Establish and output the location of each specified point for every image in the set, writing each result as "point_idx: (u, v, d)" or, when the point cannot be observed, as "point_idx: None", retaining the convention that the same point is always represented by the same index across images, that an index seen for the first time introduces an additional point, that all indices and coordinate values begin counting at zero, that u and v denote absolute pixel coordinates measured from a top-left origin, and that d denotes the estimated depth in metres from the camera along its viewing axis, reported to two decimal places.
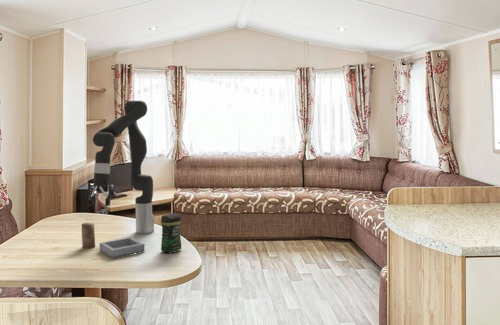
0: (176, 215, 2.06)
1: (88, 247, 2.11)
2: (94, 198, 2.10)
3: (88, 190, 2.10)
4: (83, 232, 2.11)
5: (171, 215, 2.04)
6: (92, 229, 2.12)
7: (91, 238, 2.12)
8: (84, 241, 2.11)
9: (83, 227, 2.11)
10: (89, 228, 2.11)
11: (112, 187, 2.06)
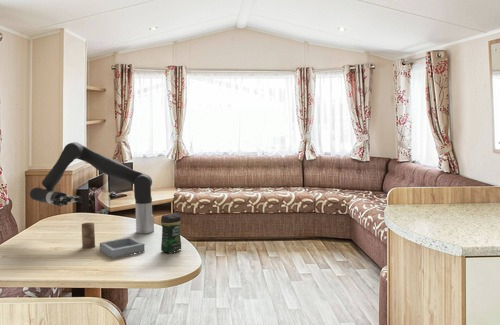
0: (176, 215, 2.06)
1: (88, 247, 2.11)
2: (77, 199, 2.23)
3: None
4: (83, 232, 2.11)
5: (171, 215, 2.04)
6: (92, 229, 2.12)
7: (91, 238, 2.12)
8: (84, 241, 2.11)
9: (83, 227, 2.11)
10: (89, 228, 2.11)
11: (51, 201, 2.18)
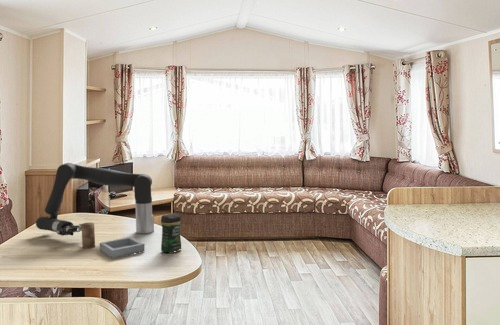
0: (176, 215, 2.06)
1: (88, 247, 2.11)
2: None
3: None
4: (83, 232, 2.11)
5: (171, 215, 2.04)
6: (92, 229, 2.12)
7: (91, 238, 2.12)
8: (84, 241, 2.11)
9: (83, 227, 2.11)
10: (89, 228, 2.11)
11: (57, 231, 2.17)
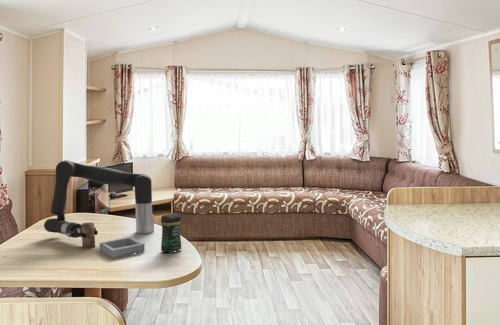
0: (176, 215, 2.06)
1: (88, 247, 2.12)
2: None
3: None
4: (83, 232, 2.11)
5: (171, 215, 2.04)
6: (92, 229, 2.12)
7: (91, 237, 2.12)
8: (84, 241, 2.11)
9: (83, 227, 2.11)
10: (89, 228, 2.11)
11: (68, 234, 2.12)
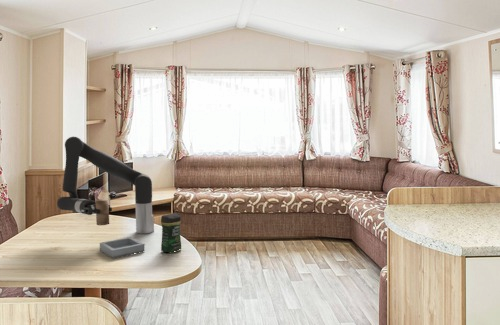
0: (176, 215, 2.06)
1: (102, 224, 2.07)
2: None
3: None
4: (97, 208, 2.06)
5: (171, 215, 2.04)
6: (106, 205, 2.08)
7: (105, 214, 2.07)
8: (98, 217, 2.07)
9: (97, 203, 2.06)
10: (103, 204, 2.06)
11: (82, 210, 2.08)
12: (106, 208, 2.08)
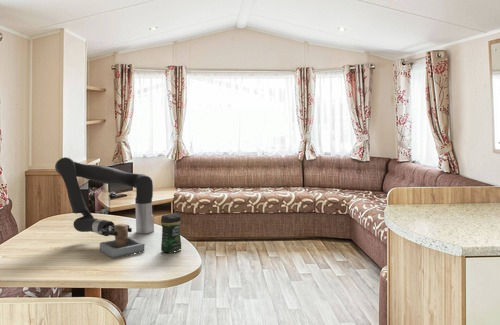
0: (176, 215, 2.06)
1: None
2: None
3: None
4: None
5: (171, 215, 2.04)
6: (126, 231, 2.05)
7: (124, 240, 2.04)
8: (117, 243, 2.04)
9: (116, 229, 2.03)
10: (123, 229, 2.03)
11: (100, 232, 2.05)
12: (125, 233, 2.05)
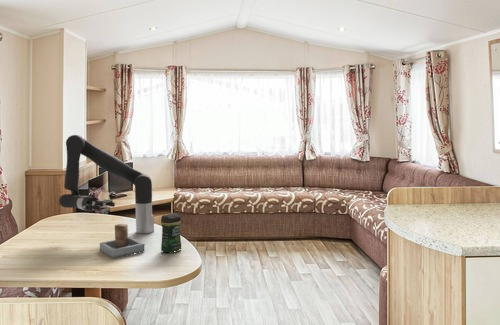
0: (176, 215, 2.06)
1: None
2: (109, 203, 2.16)
3: None
4: (116, 234, 2.04)
5: (171, 215, 2.04)
6: (126, 231, 2.05)
7: (124, 240, 2.04)
8: (117, 243, 2.04)
9: (116, 229, 2.03)
10: (123, 229, 2.03)
11: (83, 207, 2.11)
12: (125, 233, 2.05)
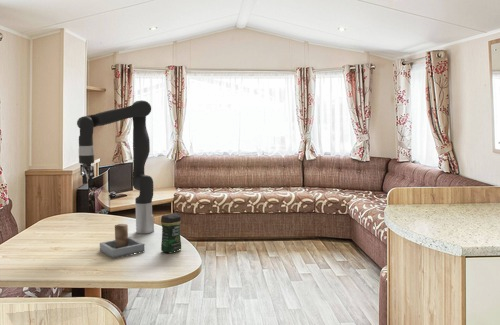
0: (176, 215, 2.06)
1: None
2: (85, 178, 2.27)
3: (80, 170, 2.28)
4: (116, 234, 2.04)
5: (171, 215, 2.04)
6: (126, 231, 2.05)
7: (124, 240, 2.04)
8: (117, 243, 2.04)
9: (116, 229, 2.03)
10: (123, 229, 2.03)
11: (91, 168, 2.18)
12: (125, 233, 2.05)
